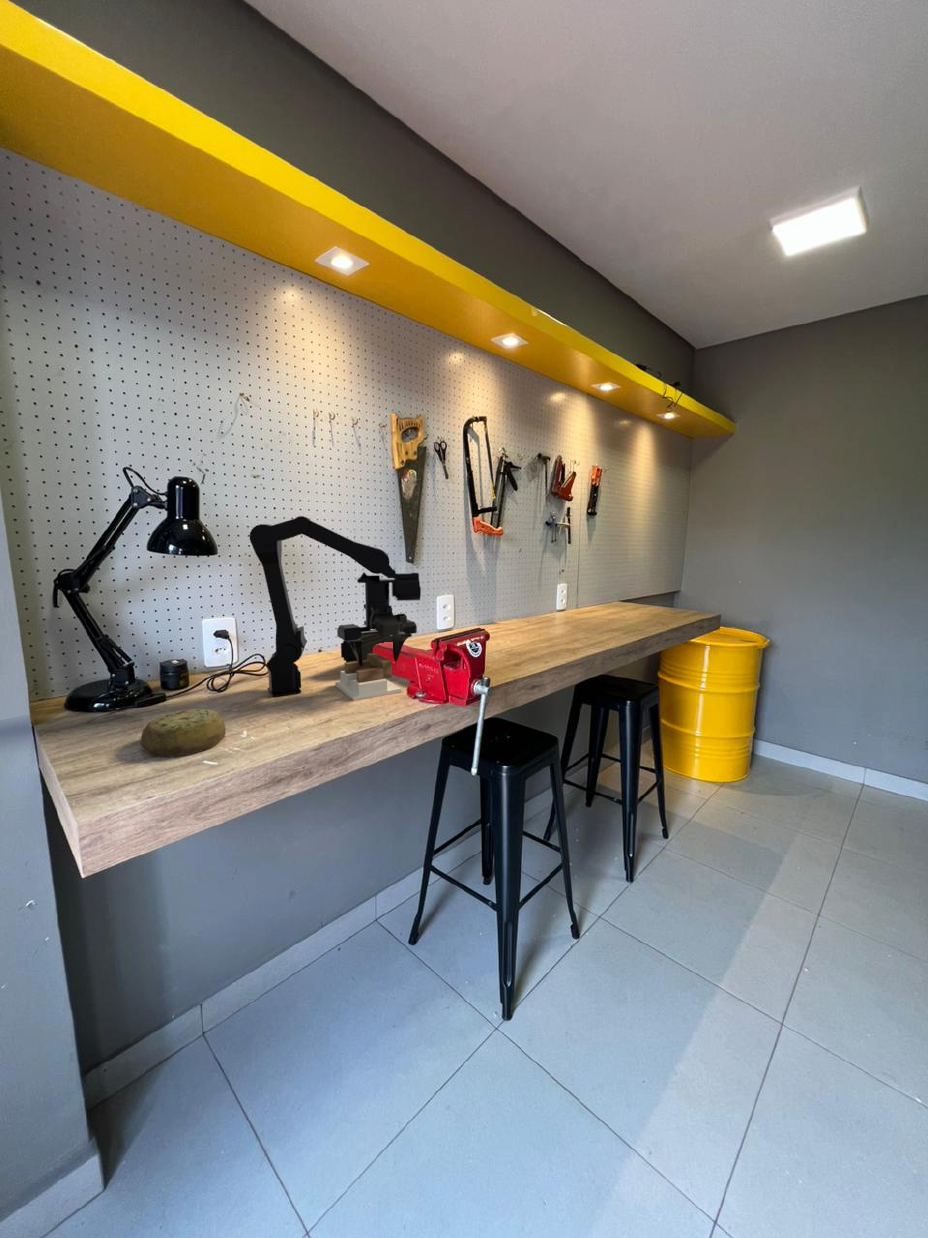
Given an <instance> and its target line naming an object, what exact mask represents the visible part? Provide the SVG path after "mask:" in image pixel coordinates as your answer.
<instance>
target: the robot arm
mask: <svg viewBox="0 0 928 1238" xmlns="http://www.w3.org/2000/svg"><path fill="white" fill-rule="evenodd" d="M300 535H302V536H303V535H304V536H305V537H308V538H309V539H312V540H314V541H316V542H319V543H320V544H323V545H324V546H326V547H328V548H331V549H333V550H335V551H337V552H339V553H342V554H344V555H345V556H347V557H349V558H351V560H354V561H355V562H356V563H357V564H359V565H360V566H362V567H363V568H364V569H366V570H367V571H368V572H369V573H372V574H373V575H372V574H371V575H368V574H367V573H366V572H365V571H363V572H362V573H361V575H360V576H359V577H358V578H357V583H358V584H364V593H365V595H364V596H365V603H364V604H363V609H365V620H364V621H363V625H364V626H358V625H356V624H354V623H348V624H341V625H338V627H337V631H336V635H337V637H338V638H339V639H341V640H342V641H344V640H345V641H347V642H348V643H349V644H350V646H351V648H352V650H353V652H354V654H355V657H356V659H357V661H358V663H359V666H362V663H363V659H362V648H361V645H362V642H363V641H362V640H360V637H361V635H364V634H374V633H379V635H380V636H382V637H387V636H392V639H393V649H392V654H393V655H392V658H393V661H394V662H397V661H398V659H399V657H400V654H401V651H402V648H403V646H404V643H405V642H406V641H407V639H409V638H411V637H412V636H413V634H417V632H418V631H417V629H418V627H417V626H418V625H417V623H416V621H412V620H410V619H408V617H407V615H406V613H397V614H394V613H393V608H392V607H393V606H392V605H390V584H391V597H392V598H393V597H394V598H396V601H397V602H400V601H401V602H402V601H403V602H404V601H405V602H407V601H408V602H409V601H410V602H411V601H421V596H422V594H421V593H422V591H421V590H422V588H421V585H420V583H421V582H420V574H419V572H410V573H405V572H404V573H401V572H400V573H396V569H393V568H392V567H391V565H390V558H389V555H388V554H387V552H386V551H384V550H382V549H381V548H378V547H374V546H371V545H367V544H363V543H360V542H356V541H355V540H352V539H350V538H348V537H346V536H343V535H341V534H340V533H338V532H336V531H333V530H331V529H329V528H327V527H325V526H323V525H322V524H318V523H317V522H315V521H313V520H311V519H310V518H308V517H306V516H302V515H299V516H297V517H295V518H292V519H290V520H287V521H282V522H279V523H275V524H266V523H265V524H264V523H263V524H262V523H261V524H258V525H255V526H253V527H252V529H251V530H250V531H249V542H250V544H251V546H252V547H253V551H254V553H255V555H256V557H257V558H258V560H259V562H260V564H261V566H262V568H263V574H264V578H265V583H266V586H267V591H268V595H269V599H270V604H271V608H272V612H273V613H272V614H273V617H274V621H275V652H273V653H272V655H271V656H270V658H269V660H267V662H266V667H267V675H268V687H267V691H268V692H269V693H270V694H269V695H271V696H272V697H274V698H276V697H281V696H287V695H292V694H293V695H294V694H300V693H302V690H301V688H302V675H301V674H302V673H301V671H300V670H299V665H297V664H296V662H297V661H299V660H300V659H301V657H302V655H303V654H304V651H305V648H306V644H307V642H308V640H307V639H306V637H305V627H304V626H303V625H302V626H300V627H298V624H297V623H296V621H295V619H294V615H293V609H292V606H291V602H290V597H289V592H288V588H287V584H286V579H285V575H284V570H283V566H282V565H283V563H282V557H283V556H282V554H283V553H282V552H283V549H282V547H283V545H282V541H286V540H288V539H291V538H295V537H297V536H300ZM374 574H376V575H374ZM380 574H381V575H383V576H385V577H386V578H387V579H385V578H381V576H380Z"/></svg>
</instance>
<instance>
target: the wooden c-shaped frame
mask: <svg viewBox="0 0 928 1238" xmlns="http://www.w3.org/2000/svg"><path fill="white" fill-rule="evenodd" d="M334 685H335V687H337V688H338V689H339V690H340V691H341V692H343V693H344V695H346V696H347V697H349V698H350V699H352V700H353V701H360V700H364V699H369V698H376V697H380V696H381V697H382V696H386V695H393V694H398V693H402V688H401V687H399V686H398V685H396V684H394V683H393V682H391V681H390V680H388V678H387V679H380V680H374V681H368V682H362V683H359V682H357V678H356V673H351V674H346V673H345V670H340V681H336V682H334Z"/></svg>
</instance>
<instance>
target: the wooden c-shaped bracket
mask: <svg viewBox="0 0 928 1238" xmlns="http://www.w3.org/2000/svg"><path fill="white" fill-rule="evenodd" d="M392 663H393V662H392V660H391V661H390V660H388V659H386V658H384V657H382V656H380V655H378V654H377V653H370V654H367V660H363V663H362V666H359V663H358V661H353V662H346V661H344V671H345V673H346V674H351V673H356V678H357V682H359V683H362V682H368V681H374V680H380V679H387V680H388V679H391V678H393V672H392V671H393V669H392V668H393V667H392V665H393V664H392Z"/></svg>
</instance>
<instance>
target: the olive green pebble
mask: <svg viewBox="0 0 928 1238" xmlns="http://www.w3.org/2000/svg"><path fill="white" fill-rule="evenodd" d="M141 732H142V733H141V736H140V737H141V738H140V745H141V748H142V749H143V750H144V751H145V752H146V753H148V754H149V755H152V756H157V757H178V756H182V755H183V756H184V755H191V754H195V753H198V752H202V751H207V750H209V749H211V748H213V747H214V746H216V745H218V744H219V743H220V742H221V741H222V740H224V738H225V737H226V725H225V722H224V720H223V718H222V717H221V716H220V714H219V713H217V712H216V711H213V710H211V709H207V708H193V709H184V710H178V711H174V712H169V713H167V714H163V715H161V716H158V717H156V718H154V719H152V720H151V721H149V722H148V723H147V724H146V726H145V728H144V729H143V731H141Z"/></svg>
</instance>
